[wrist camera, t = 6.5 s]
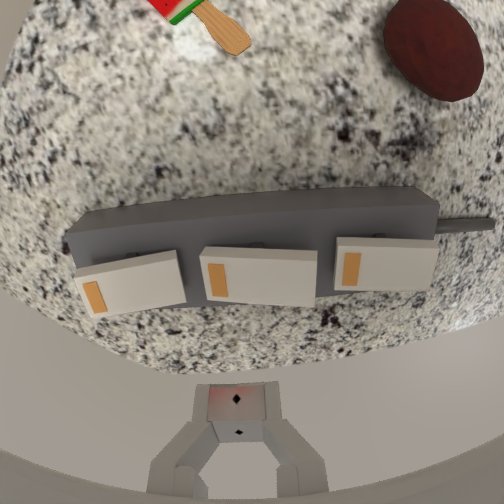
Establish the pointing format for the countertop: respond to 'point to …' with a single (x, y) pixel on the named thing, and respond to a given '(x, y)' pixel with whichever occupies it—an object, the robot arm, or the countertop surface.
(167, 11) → the popsicle
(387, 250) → the rocker
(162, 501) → the robot arm
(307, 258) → the rocker
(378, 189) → the power strip
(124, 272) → the block
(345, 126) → the countertop surface
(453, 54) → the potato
